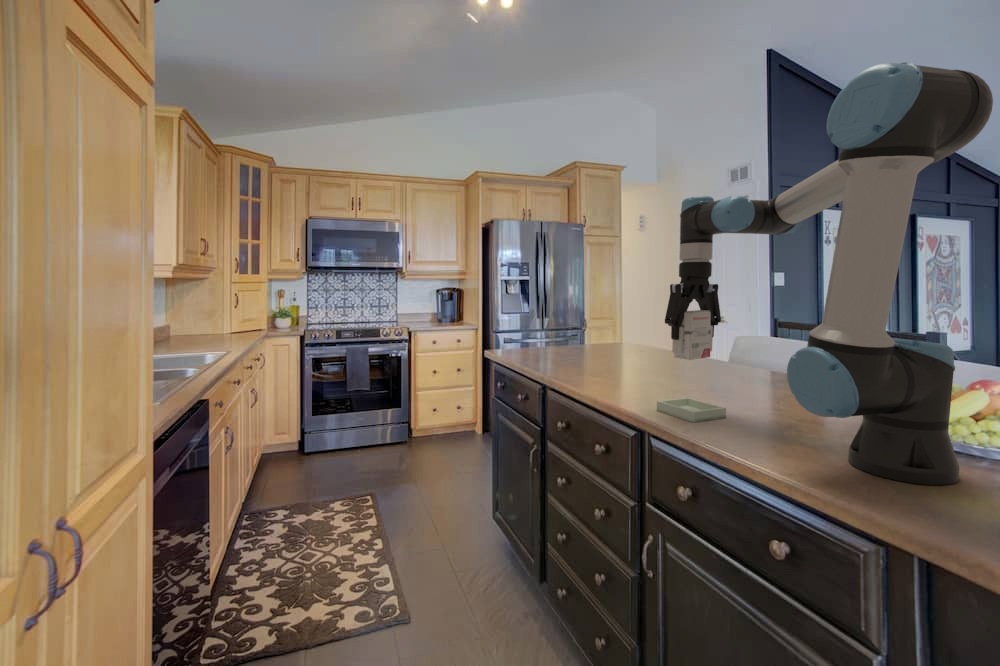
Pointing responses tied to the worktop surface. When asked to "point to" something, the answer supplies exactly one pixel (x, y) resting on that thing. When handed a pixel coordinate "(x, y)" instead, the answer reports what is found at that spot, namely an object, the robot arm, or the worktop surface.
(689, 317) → the ink box
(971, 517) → the worktop surface
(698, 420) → the pale green tray
